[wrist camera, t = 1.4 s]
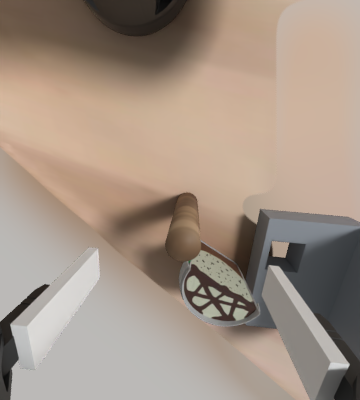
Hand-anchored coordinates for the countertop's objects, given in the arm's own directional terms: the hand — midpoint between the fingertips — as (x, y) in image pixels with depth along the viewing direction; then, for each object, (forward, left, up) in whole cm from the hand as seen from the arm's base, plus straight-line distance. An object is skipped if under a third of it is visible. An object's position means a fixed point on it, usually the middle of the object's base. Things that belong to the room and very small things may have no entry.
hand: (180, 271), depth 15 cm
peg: (0, 0, -18) cm, 18 cm away
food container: (+11, +4, -18) cm, 21 cm away
